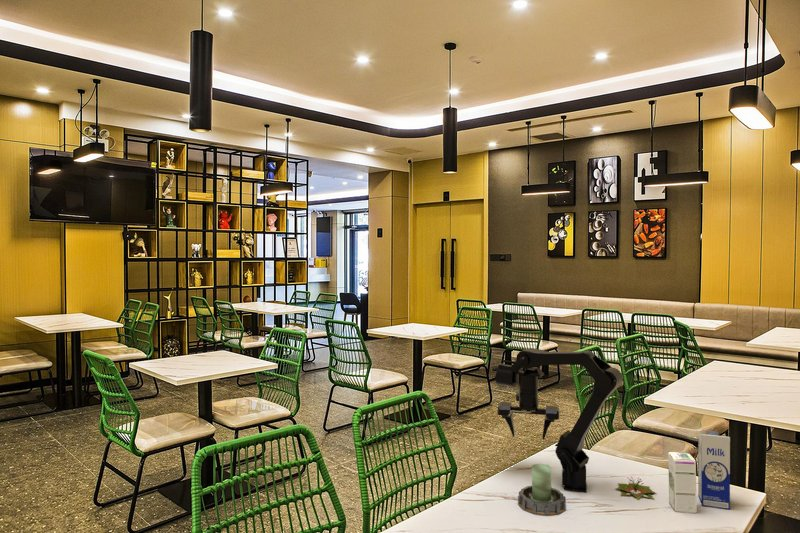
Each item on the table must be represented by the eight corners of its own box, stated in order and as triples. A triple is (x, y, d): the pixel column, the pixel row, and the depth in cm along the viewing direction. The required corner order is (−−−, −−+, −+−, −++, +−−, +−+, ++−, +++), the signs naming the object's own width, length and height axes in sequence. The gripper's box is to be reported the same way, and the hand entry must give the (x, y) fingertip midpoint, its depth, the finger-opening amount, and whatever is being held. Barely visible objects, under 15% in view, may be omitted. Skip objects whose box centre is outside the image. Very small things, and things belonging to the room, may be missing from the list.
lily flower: (654, 487, 163) (654, 472, 163) (661, 504, 152) (661, 488, 152) (611, 482, 167) (611, 468, 166) (615, 499, 155) (615, 483, 155)
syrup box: (697, 513, 145) (697, 460, 145) (673, 511, 146) (673, 458, 146) (690, 504, 151) (690, 452, 150) (667, 502, 152) (667, 451, 152)
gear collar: (565, 497, 155) (565, 487, 155) (565, 518, 143) (565, 507, 143) (520, 492, 159) (520, 482, 159) (516, 512, 147) (516, 501, 147)
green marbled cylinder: (545, 496, 155) (545, 461, 155) (559, 506, 149) (559, 470, 149) (524, 499, 153) (524, 464, 153) (538, 510, 147) (537, 473, 147)
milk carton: (701, 505, 150) (701, 434, 149) (697, 495, 156) (697, 426, 156) (730, 509, 147) (730, 436, 147) (725, 499, 153) (725, 429, 153)
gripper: (559, 384, 176) (559, 432, 176) (501, 381, 182) (501, 427, 182) (558, 393, 165) (558, 443, 166) (497, 389, 171) (497, 438, 171)
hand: (528, 437), depth 171 cm, fingers open, 9 cm apart
